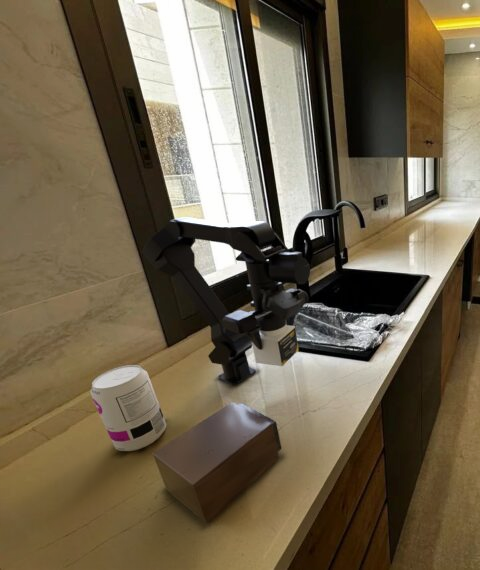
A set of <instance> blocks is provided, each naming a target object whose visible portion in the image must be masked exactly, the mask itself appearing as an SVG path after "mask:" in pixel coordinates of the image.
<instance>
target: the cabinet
mask: <svg viewBox="0 0 480 570" xmlns="http://www.w3.org/2000/svg"><path fill="white" fill-rule="evenodd" d="M151 454H152V456H153V459H154V461H155V464H156V466H157V469H158V471H159V474H160V477H161V479H162V481H163V485H164V486H165V489H166V491H167V492H168V493H169V494H171V495H172V496H173V497H174V498H176V499H177V500H178V501H179V502H180V503H181V504H183V505H184V506H185V507H186V508H187V509H188V510H190V511H191V512H192V513H193V514H195V515H196V516H197V517H198V518H200V519H201V521H203V522H204V523H205V524H208V523H209V522H210V521H212V519H213V518H214V517H216V516H217V515H218V514H219V513H220V512H221V511H222V510H224V509H225V508H226V507H227V506H228V505H229V504H230V503H231V502H232V501H233V500H235V498H237V497H238V496H239V495H240V494H241V493H242V492H243V491H245V490H246V489H247V488H248V487H249V486H250V485H252V483H254V482H255V481H256V480H257V479H258V478H259V477H260V476H261V475H262V474H263V473H265V471H267V470H268V469H269V468H270V467H271V466H272V465H274V463H276V462H277V461H278V460H279V459H280V455H279V454H280V453H279V451H278V449H277V444H276V439H275V435H274V430H273V425H272V423H271V422H269V421H267V420H265V419H263V418H261V417H260V416H258V415H256V414H254V413H252V412H250V411H248V410H246V409H244V408H243V407H241V406H239V405H238V403H235V402H233V401H231V402H230V403H228V404H226V405H225V406H224V407H222V408H220V409H219V410H217V411H216V412H214V413H213V414H211V415H210V416H208V417H206V418H205V419H204V420H202V421H200V422H198V423H197V424H196V425H194V426H192V427H190V428H189V429H188V430H186V431H184V432H182V433H181V434H180V435H178V436H177V437H175V438H174V439H172V440H171V441H169V442H167V443H166V444H164V445H162V446H161V447H160V448H158V449H156V450H155V451H153V452H152V453H151Z"/></svg>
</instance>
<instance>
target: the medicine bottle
mask: <svg viewBox="0 0 480 570" xmlns="http://www.w3.org/2000/svg"><path fill="white" fill-rule="evenodd" d="M257 325H259V326H261V329H260V330H259V333H260V337H261V341H262V350H260V349H258V348H257V347H256V346H255V345H254V343H253V342H252V349H253V354H254V359H255V363H256V364H263V365H269V366H276V367H277V366H278V367H283V366H285V365H286V364H287V363H288V362H289V361H290V360H291V359H292V358H293V357H294V355H296V354H297V353H298V352H299V343H298V336H297V329H296V326H295V325H293V326H290V325H286V319H285V320H283V319H280V318H279V316H277V315H276V314H274V313H273V312H270V313H268V314H266V315H263V316H261V317H259V318H257Z"/></svg>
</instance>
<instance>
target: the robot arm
mask: <svg viewBox="0 0 480 570" xmlns="http://www.w3.org/2000/svg"><path fill="white" fill-rule="evenodd" d="M196 240H201V241H206V242H207V241H208V242H214V243H221V244H225V245H228V246H229V247H230V248H232V249H233V250H235V251H238V252H240V253H239V254H238V255H237V256H236V257H235V260H236V261H237V262H244V263H245V267H246V272H247V278H248V282H249V284H246V290H248V291H250V293H251V297H252V301H250V302H249V304H250V305H249V306H250V307H252V308H254V309H253V310H251V311H249V312H248V311H245V310H242V309H238V310H236V311H233V312H231V313H230V312H229V311H228V310H227V308H226V307H225V305H224V304H223V302H222V301H221V300H220V299H219V297H218V296H217V294H216V293H215V292H214V291H213V289H212V288H211V286H210V285H209V283H208V282H207V281H206V279H205V277H203V275H202V274H201V272H200V271H199V270H198V269H197V266H196V263H195V262H196V260H195V259H196V257H195V252H194V251H193V246H194V244H195V243H196V242H197V241H196ZM142 252H143V255H144V258H145V259H146V260H147V261H149V263H150V264H151V265H152V266H153V267H154V268H155V269H156V270H157V271H159V272H161V273H163V274H166V275H168V276H169V277H172V278H173V280H174V281H175V282H176V283H177V285H178V286H179V287H180V289H181V290H182V291H183V293H184V294H185V295H186V297H187V298H188V299H189V300H190V302H191V303H192V304H193V306H194V307H195V309H196V310H197V311H198V312H199V314H200V315H201V317H202V318H203V319H204V320H205V322H206V323H207V325H208V326H209V327H210V340H211V342H212V344H213V346H214V348H213V349H212V350H211V351H210V353H209V354H208V355H207V357H208V359H209V360H210V362H211V363H212V364H216V365H221V368H222V373H221V374H219V375H218V377H217V378H218V379H219V380H221V381H223V382H226V383H228V384H229V385H232V386H236V385H237V384H239V383H240V382H242V381H244V380H245V379H247V378H249V377H250V376H252V375H253V374H255V373H257V371H256V369H255V368H252V367H250V365H249V361H248V357H247V353H246V352H247V351H249V350H250V349H253V345H252V342H253V343H254V345H255V346H256V347H257V348H258V349H260V350H262V341H261V337H260V333H259V330H260V329H261V326H259V325H258V324H257V318H259V317H261V316H263V315H266V314H268V313H270V312H273V313H274V314H276V315H277V316H279V318H280V319H283V320H285V319H286V325H290V326H294V323H295V320H296V319H295V318H296V315H298V314H299V313H300V310H301V309H302V308H304V306H305V304H308V303H309V295H308V293H307V292H306V291H305V290H302V289H301V288H298V289H297V288H292V287H291V288H289V289H287V290H286V289H285V285H284V284H293V285H305V284H306V283H307V282H308V280H309V278H310V275H311V265H310V263H309V262H308V260H307V259H306V258H305V257H303V252H301V251H294V252H292V251H291V252H290V251H289V248H288V247H287V246H286V244H285V242H283V240H282V239H281V238H280V237H279V235H278V234H277V233H276V232H275V231H274V228H272V226H271V224H270V223H268V222H267V221H263V220H261V221H249V222H240V223H231V222H223V221H217V220H216V221H215V220H209V219H201V218H195V217H192V216H183V217H177V218H172V219H170V220H168V221H167V222H166V224H164V226H163V227H162V228H161V229H160V230H158V231H157V232H155V234H153V235H152V236H150V237H149V239H148V240H147V241H146V242H145V243H144V246H143V249H142Z"/></svg>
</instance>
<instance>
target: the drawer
mask: <svg viewBox="0 0 480 570" xmlns="http://www.w3.org/2000/svg"><path fill="white" fill-rule="evenodd" d="M237 405H239V406H241V407H243V408H244V409H246V410H248V411H250V412H252V413H254V414H256V415H258V416H260V417H261V418H263V419H265V420H267V421H269V422H271V423H272V425H273V430H274V435H275V439H276V444H277V449H278V452H280V451H281V450H282V443H281V439H280V433H279V429H278V423H277V421H276V420H274V419H273V418H271V417H269V416H267V415H265V414H262V413H260V412H259V411H257V410H255V409H254V408H252V407H249V406H247V405H246V404H244V403H242V402H240V403H237Z"/></svg>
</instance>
